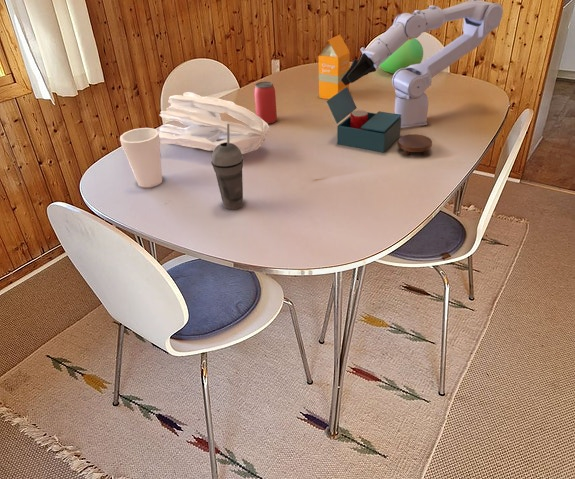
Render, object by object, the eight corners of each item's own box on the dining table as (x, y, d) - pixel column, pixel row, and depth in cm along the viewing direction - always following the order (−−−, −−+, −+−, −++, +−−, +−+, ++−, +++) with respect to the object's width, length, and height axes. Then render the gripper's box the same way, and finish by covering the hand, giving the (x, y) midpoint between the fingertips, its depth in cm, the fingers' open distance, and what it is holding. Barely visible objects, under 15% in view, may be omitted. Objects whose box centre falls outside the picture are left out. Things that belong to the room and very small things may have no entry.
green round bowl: (374, 78, 190) (376, 38, 182) (375, 66, 204) (377, 28, 195) (422, 78, 187) (426, 37, 179) (420, 65, 201) (423, 27, 193)
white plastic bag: (284, 110, 141) (185, 94, 155) (253, 93, 124) (146, 77, 138) (271, 169, 142) (174, 148, 156) (239, 160, 126) (135, 138, 140)
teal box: (337, 145, 142) (337, 123, 138) (355, 129, 151) (356, 107, 147) (383, 154, 136) (384, 131, 132) (399, 136, 145) (401, 114, 141)
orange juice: (349, 93, 178) (350, 34, 167) (338, 100, 172) (338, 40, 161) (330, 90, 182) (330, 32, 171) (318, 97, 176) (317, 38, 165)
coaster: (413, 143, 141) (414, 131, 139) (437, 153, 134) (439, 141, 132) (390, 152, 137) (391, 140, 135) (414, 163, 130) (415, 150, 128)
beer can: (274, 125, 157) (272, 87, 150) (254, 124, 158) (251, 87, 151) (279, 117, 162) (276, 80, 155) (259, 117, 164) (256, 80, 157)
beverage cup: (218, 198, 121) (206, 119, 109) (248, 195, 121) (239, 117, 109) (217, 214, 115) (204, 132, 103) (248, 211, 115) (239, 129, 103)
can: (363, 133, 147) (364, 108, 143) (369, 139, 143) (370, 114, 139) (347, 135, 146) (347, 111, 142) (353, 142, 142) (354, 117, 138)
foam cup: (136, 194, 125) (124, 146, 117) (128, 179, 131) (116, 133, 124) (172, 184, 128) (163, 137, 120) (163, 170, 135) (153, 125, 127)
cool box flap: (337, 123, 138) (336, 123, 138) (356, 108, 147) (355, 108, 147) (327, 100, 136) (326, 101, 136) (347, 86, 145) (346, 87, 145)
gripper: (367, 40, 143) (332, 72, 144) (381, 31, 129) (342, 66, 130) (382, 60, 144) (347, 91, 145) (398, 53, 130) (359, 88, 131)
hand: (346, 81), depth 138 cm, fingers open, 7 cm apart
